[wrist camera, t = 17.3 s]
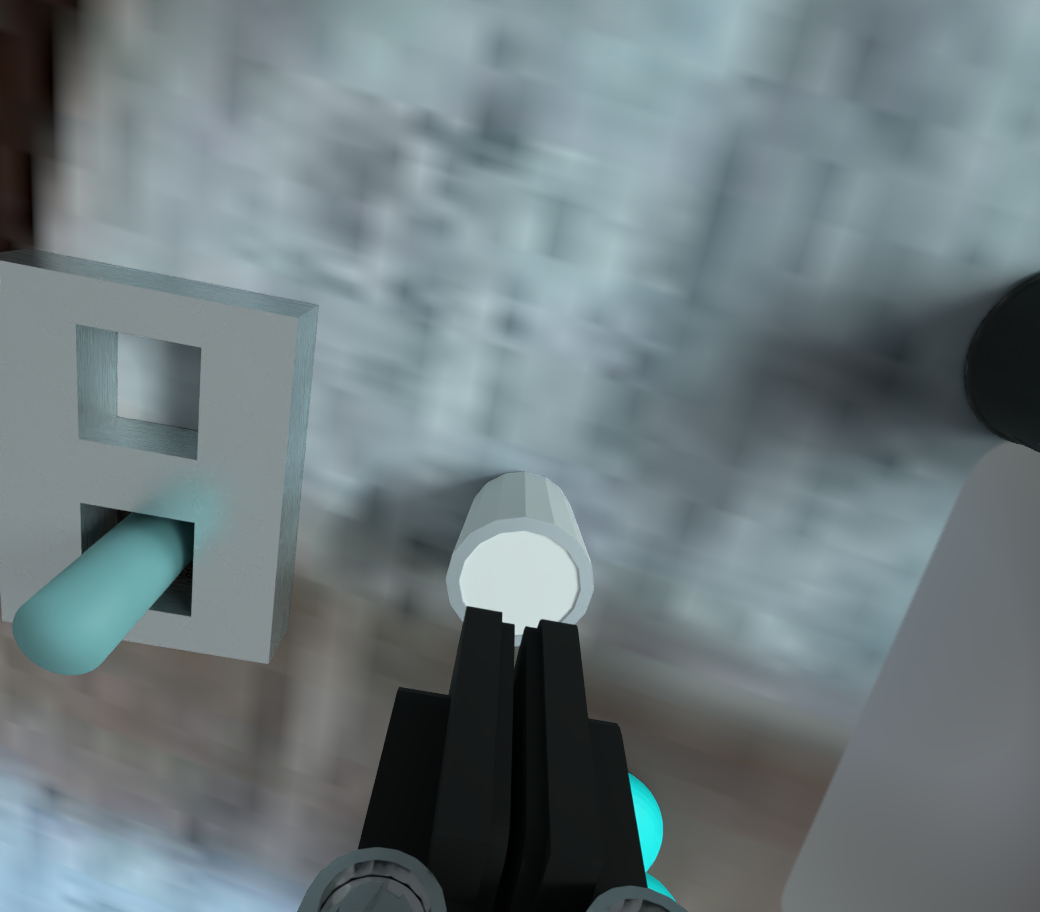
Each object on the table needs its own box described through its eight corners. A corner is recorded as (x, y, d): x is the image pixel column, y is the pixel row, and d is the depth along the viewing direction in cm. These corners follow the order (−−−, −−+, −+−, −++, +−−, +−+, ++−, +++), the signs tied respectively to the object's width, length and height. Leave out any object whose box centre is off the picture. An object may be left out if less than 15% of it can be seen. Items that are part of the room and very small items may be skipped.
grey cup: (438, 542, 40) (421, 613, 34) (492, 439, 38) (485, 493, 32) (547, 591, 41) (551, 668, 35) (605, 493, 39) (622, 556, 33)
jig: (27, 248, 35) (-24, 255, 31) (318, 305, 36) (297, 318, 32) (43, 585, 41) (2, 620, 38) (288, 626, 42) (268, 663, 39)
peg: (132, 491, 39) (9, 588, 30) (206, 503, 40) (107, 604, 30) (132, 554, 41) (15, 666, 31) (203, 567, 41) (109, 681, 32)
